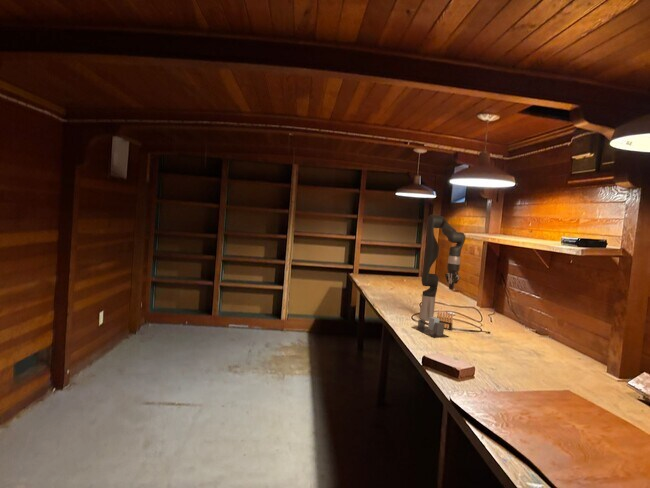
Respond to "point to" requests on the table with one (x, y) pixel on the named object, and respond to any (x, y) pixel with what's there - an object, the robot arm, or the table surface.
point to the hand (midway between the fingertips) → (451, 289)
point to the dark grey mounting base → (434, 334)
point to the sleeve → (432, 322)
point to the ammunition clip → (446, 322)
